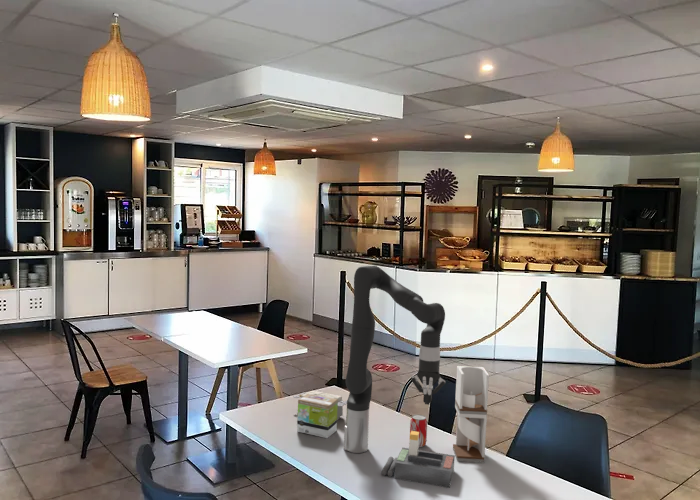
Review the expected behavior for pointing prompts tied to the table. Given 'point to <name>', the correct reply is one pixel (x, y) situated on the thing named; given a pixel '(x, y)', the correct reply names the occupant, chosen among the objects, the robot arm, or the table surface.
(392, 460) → the cord bundle
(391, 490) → the table surface
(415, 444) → the block
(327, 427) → the tea box
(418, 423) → the soda can
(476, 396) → the white tiered stand
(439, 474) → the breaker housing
